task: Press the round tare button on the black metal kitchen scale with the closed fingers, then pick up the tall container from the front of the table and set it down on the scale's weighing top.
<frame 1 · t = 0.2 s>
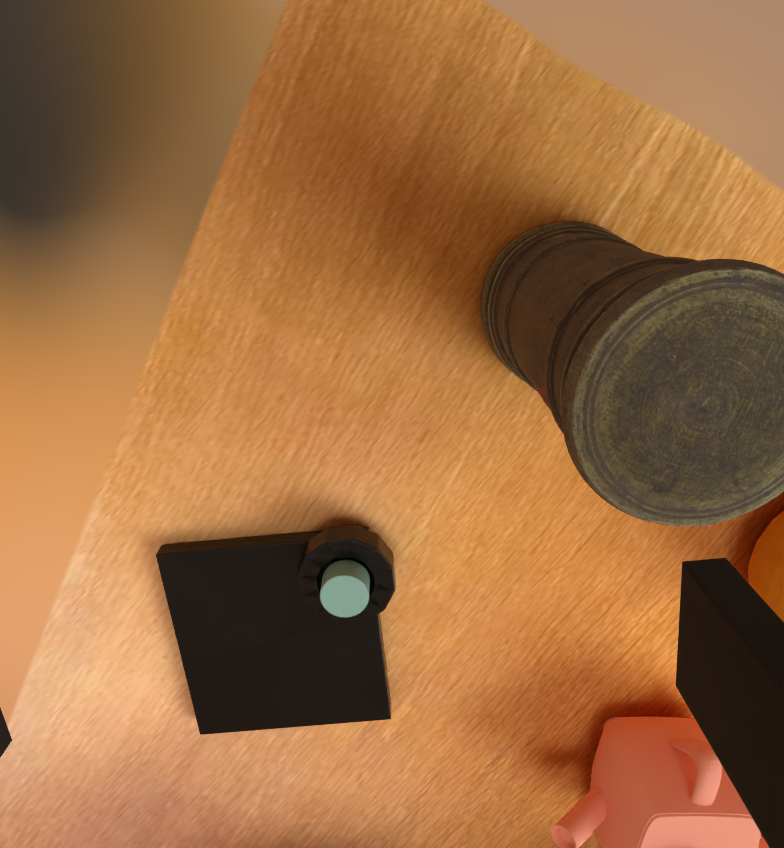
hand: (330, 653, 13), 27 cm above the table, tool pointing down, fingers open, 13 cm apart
container: (560, 304, 37), on the table
tare button: (345, 588, 39), point 4 cm above the table, slide at 0.2 cm
scale: (282, 629, 44), on the table
teapot: (636, 746, 48), on the table
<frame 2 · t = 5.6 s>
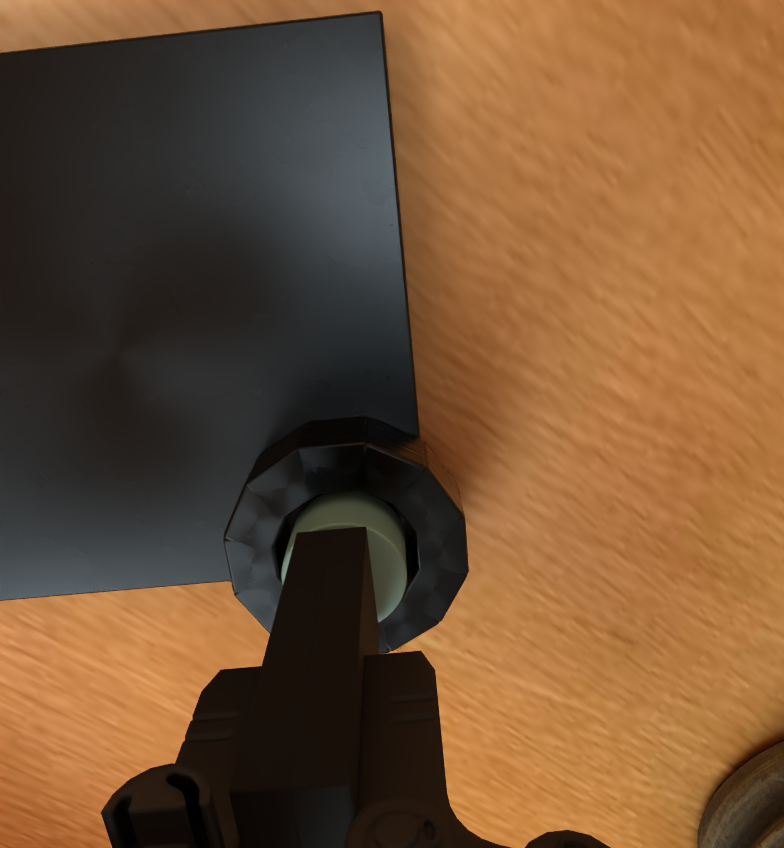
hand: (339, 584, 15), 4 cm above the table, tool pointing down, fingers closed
tare button: (346, 558, 16), point 3 cm above the table, slide at -0.3 cm, touching gripper
scale: (135, 342, 17), on the table
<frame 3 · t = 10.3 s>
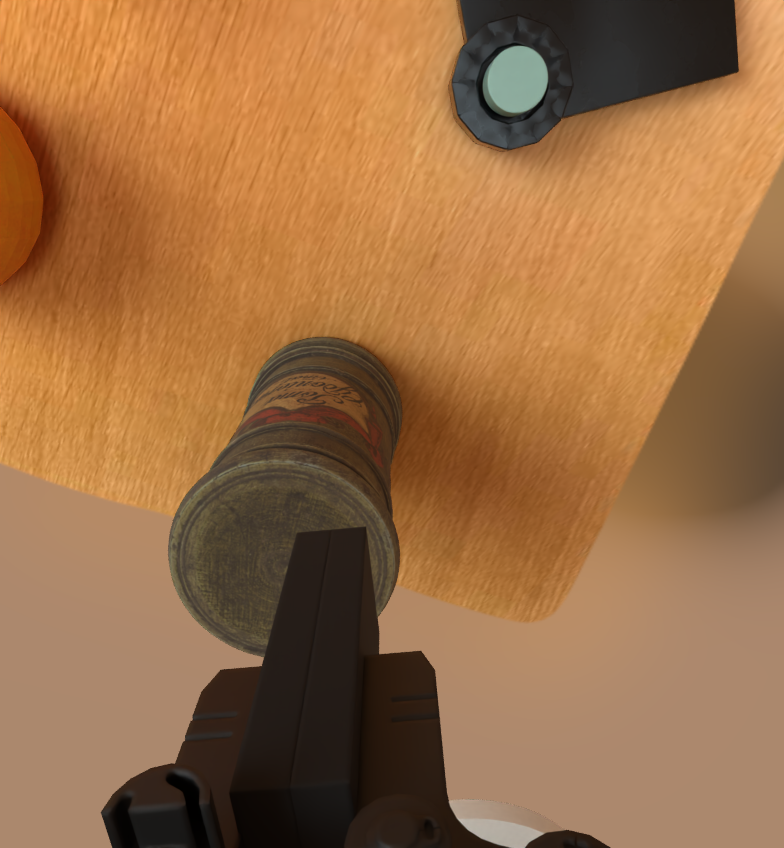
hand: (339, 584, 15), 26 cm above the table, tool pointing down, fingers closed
container: (327, 406, 41), on the table
tare button: (514, 82, 32), point 4 cm above the table, slide at 0.1 cm
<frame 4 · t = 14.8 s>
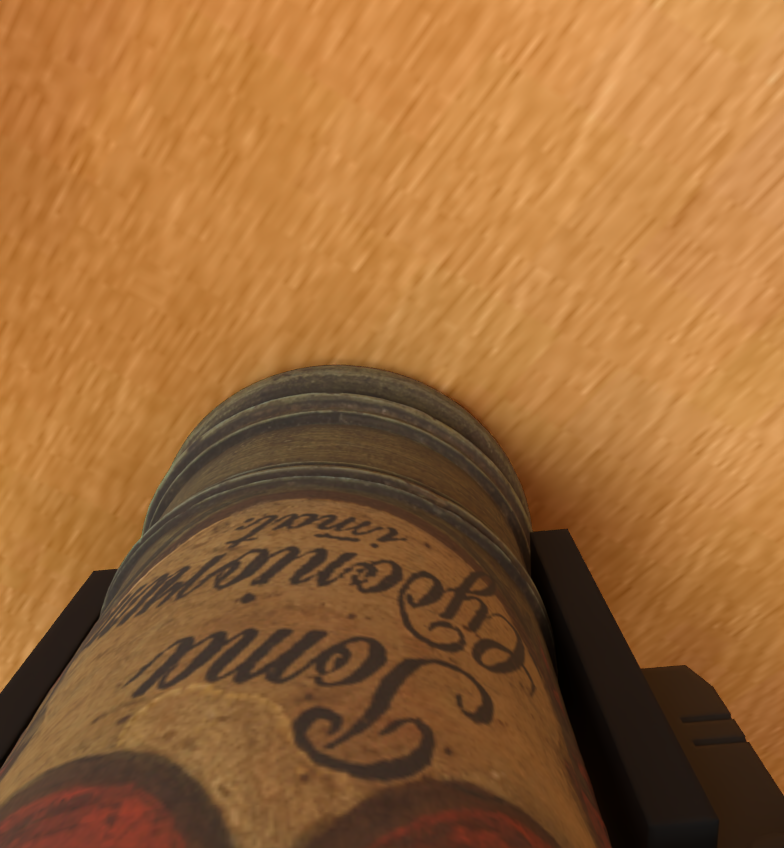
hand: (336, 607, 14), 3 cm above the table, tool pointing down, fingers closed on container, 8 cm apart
container: (348, 527, 17), on the table, touching gripper
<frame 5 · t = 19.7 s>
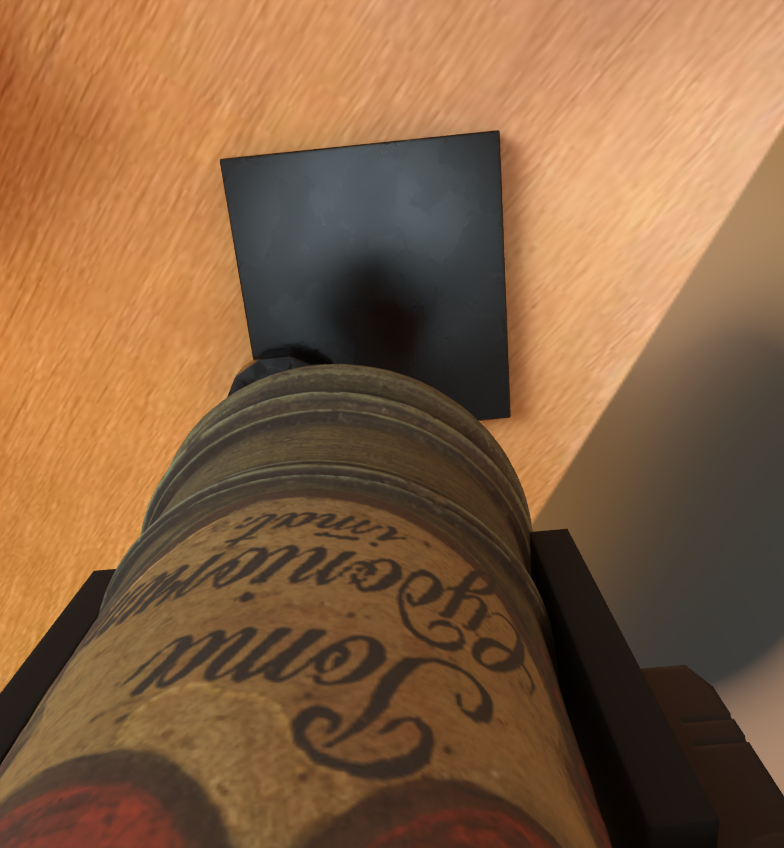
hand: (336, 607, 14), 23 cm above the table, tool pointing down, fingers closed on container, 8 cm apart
container: (347, 527, 17), point 19 cm above the table, touching gripper
scale: (374, 293, 34), on the table
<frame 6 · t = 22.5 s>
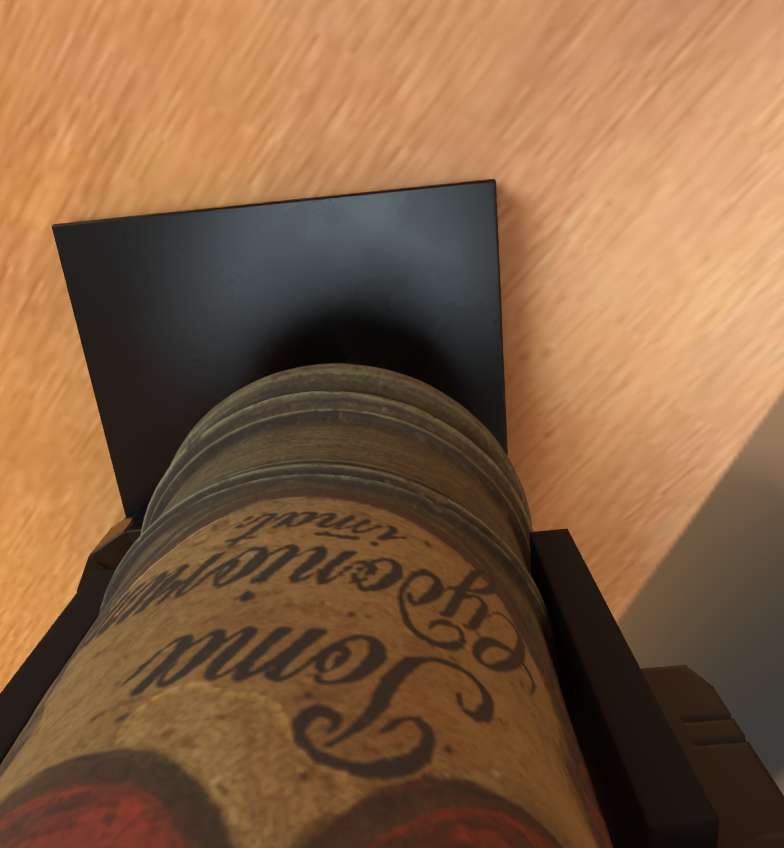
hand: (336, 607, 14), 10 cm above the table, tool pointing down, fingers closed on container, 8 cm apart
container: (348, 526, 17), point 6 cm above the table, touching gripper
scale: (309, 416, 23), on the table
when the fingers open (4 cm above the table, at t = 24.5 s): container stays where it is, resting on scale.
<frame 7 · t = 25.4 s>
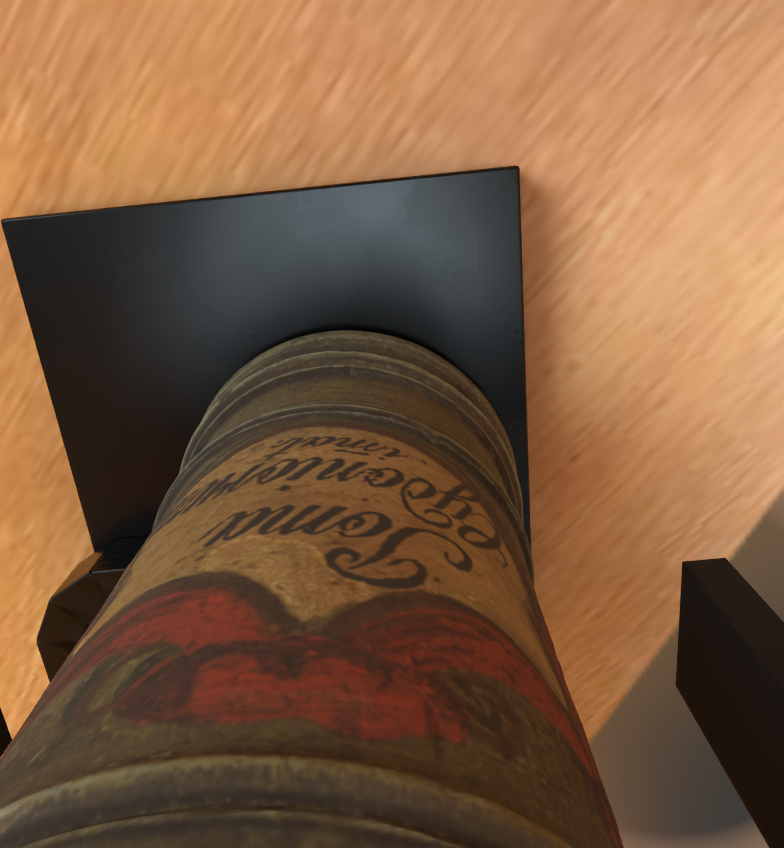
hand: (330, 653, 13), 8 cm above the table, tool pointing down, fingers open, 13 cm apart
container: (356, 477, 19), point 1 cm above the table, touching scale
scale: (302, 438, 20), on the table
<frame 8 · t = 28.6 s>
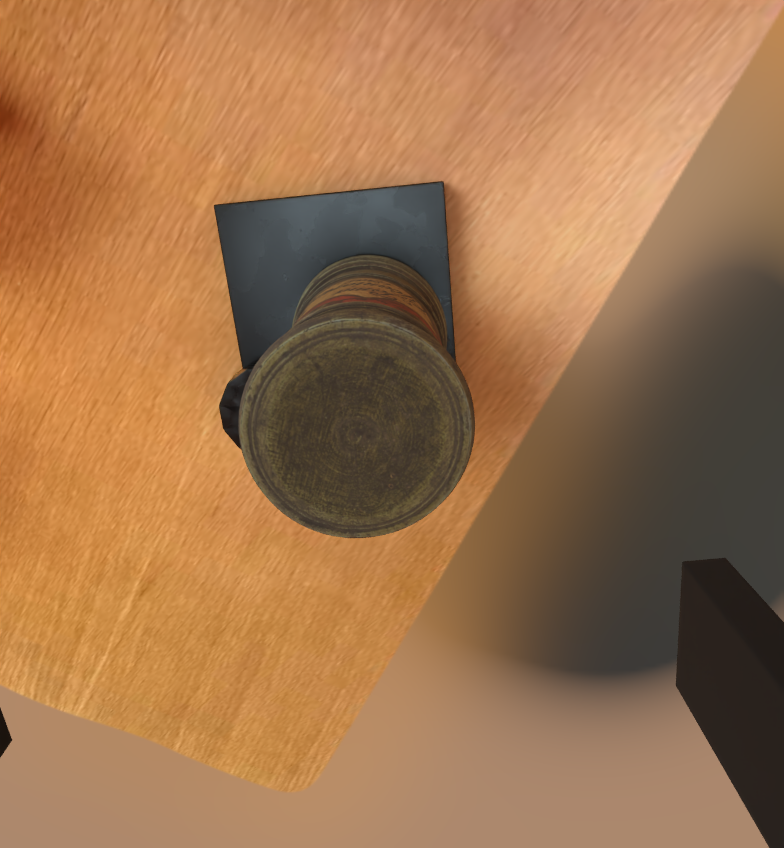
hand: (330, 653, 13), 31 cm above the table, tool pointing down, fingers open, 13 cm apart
container: (370, 329, 41), point 1 cm above the table, touching scale
scale: (344, 313, 41), on the table
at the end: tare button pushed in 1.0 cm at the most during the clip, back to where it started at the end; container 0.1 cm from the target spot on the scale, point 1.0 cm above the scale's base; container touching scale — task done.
